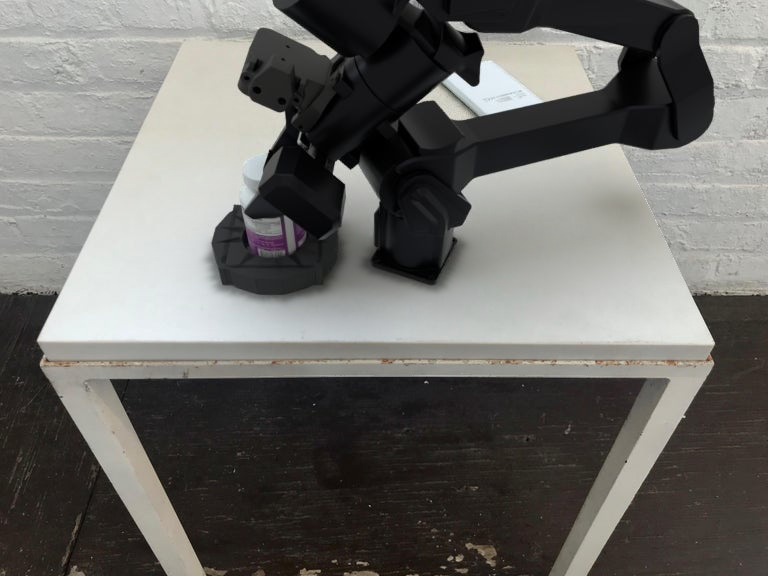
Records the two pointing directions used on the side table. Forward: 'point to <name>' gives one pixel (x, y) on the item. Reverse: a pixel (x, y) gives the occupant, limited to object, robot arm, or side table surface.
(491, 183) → the side table surface
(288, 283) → the pad
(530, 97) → the hard drive
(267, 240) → the pill bottle
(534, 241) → the side table surface
